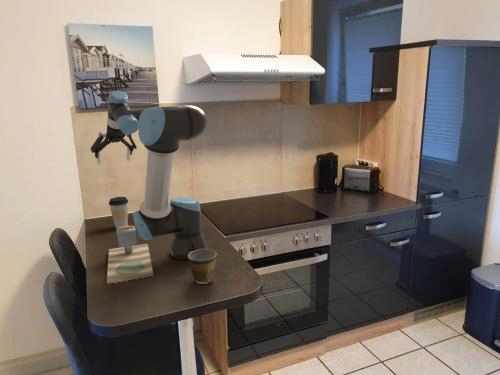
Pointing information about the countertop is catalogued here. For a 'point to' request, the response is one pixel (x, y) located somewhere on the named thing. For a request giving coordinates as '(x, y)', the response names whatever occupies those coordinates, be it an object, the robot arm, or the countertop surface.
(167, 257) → the countertop surface
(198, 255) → the ceramic cup
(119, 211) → the coffee cup
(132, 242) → the cap
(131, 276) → the bayonet board
